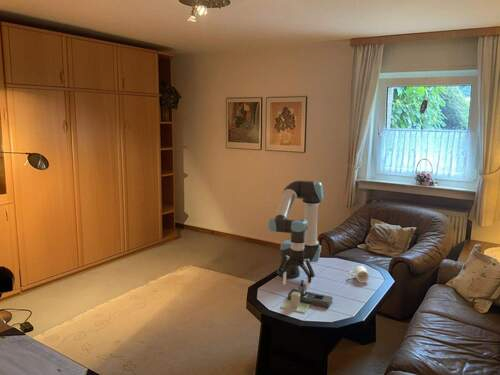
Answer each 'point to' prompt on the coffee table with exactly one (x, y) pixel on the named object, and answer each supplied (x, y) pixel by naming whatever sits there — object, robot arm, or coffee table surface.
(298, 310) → the tray
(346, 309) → the coffee table surface
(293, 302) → the plug
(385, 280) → the coffee table surface
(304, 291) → the panel
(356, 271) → the mug
